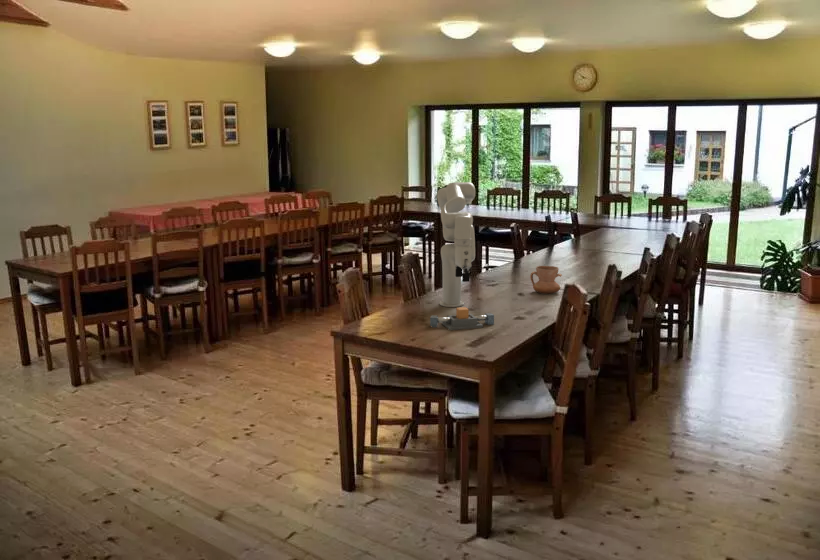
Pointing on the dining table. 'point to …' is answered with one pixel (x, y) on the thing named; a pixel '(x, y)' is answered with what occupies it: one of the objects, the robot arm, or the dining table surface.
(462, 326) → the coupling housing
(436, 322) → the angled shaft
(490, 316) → the straight shaft
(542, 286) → the ceramic jug
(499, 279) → the dining table surface
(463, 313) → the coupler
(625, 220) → the dining table surface
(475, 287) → the dining table surface
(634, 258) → the dining table surface
